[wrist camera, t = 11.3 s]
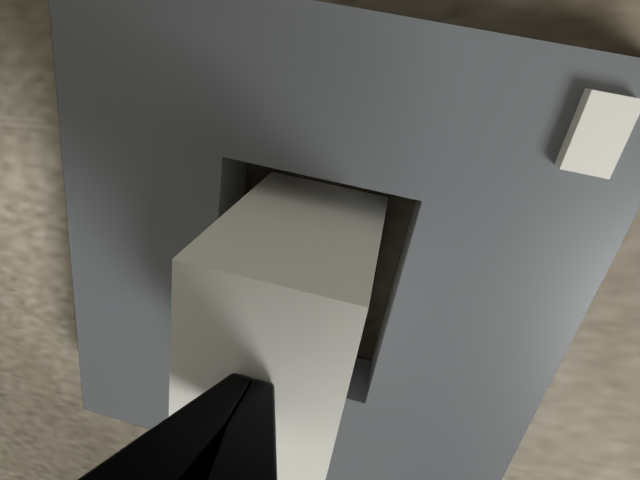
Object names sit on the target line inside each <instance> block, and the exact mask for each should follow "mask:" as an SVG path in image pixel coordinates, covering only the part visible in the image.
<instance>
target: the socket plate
mask: <svg viewBox="0 0 640 480" xmlns="http://www.w3.org/2000/svg"><path fill="white" fill-rule="evenodd" d="M49 8H50V20H51V31H52V43H53V55H54V67H55V79H56V91H57V103H58V115H59V127H60V138H61V150H62V162H63V174H64V186H65V198H66V210H67V222H68V234H69V245H70V257H71V269H72V281H73V293H74V305H75V317H76V329H77V341H78V352H79V364H80V376H81V388H82V400H83V409H85V410H88V411H92V412H95V413H98V414H102V415H105V416H108V417H112V418H115V419H119V420H122V421H125V422H129V423H132V424H135V425H139V426H142V427H145V428H149V429H152V428H153V427H155V426H156V425H157V424H159V423H160V422H162V421H163V420H165V419H166V418H168V417H169V376H170V333H171V290H172V259H173V258H174V257H175V256H176V255H177V254H178V253H180V252H181V251H182V250H183V249H184V248H185V247H186V246H188V245H189V244H190V243H191V242H192V241H193V240H194V239H196V238H197V237H198V236H199V235H200V234H201V233H202V232H204V231H205V230H206V229H207V228H208V227H209V226H210V225H212V224H213V223H214V222H215V221H216V220H217V219H218V218H220V217H221V216H222V215H223V214H224V213H225V212H226V211H228V210H229V209H230V208H231V207H232V206H233V205H234V204H236V203H237V202H238V201H239V200H240V199H241V198H242V197H244V193H245V183H246V173H247V163H252V164H256V165H261V166H265V167H270V168H274V169H279V170H283V171H288V172H292V173H297V174H301V175H306V176H310V177H315V178H319V179H324V180H328V181H333V182H337V183H342V184H346V185H351V186H355V187H360V188H364V189H369V190H373V191H378V192H383V193H387V194H392V195H396V196H401V197H405V198H410V199H414V200H415V203H414V207H413V211H412V214H411V218H410V221H409V225H408V229H407V232H406V236H405V240H404V243H403V247H402V251H401V254H400V258H399V262H398V265H397V269H396V273H395V276H394V280H393V283H392V287H391V291H390V294H389V298H388V302H387V305H386V309H385V313H384V316H383V320H382V324H381V327H380V331H379V335H378V338H377V342H376V345H375V349H374V353H373V356H372V360H371V361H370V360H366V359H362V358H358V357H356V360H355V364H354V368H353V372H352V376H351V380H350V384H349V388H348V392H347V396H346V400H345V404H344V408H343V412H342V416H341V420H340V424H339V428H338V432H337V436H336V440H335V444H334V448H333V452H332V456H331V460H330V464H329V468H328V472H327V476H326V480H501V479H502V477H503V475H504V473H505V471H506V469H507V468H508V466H509V464H510V462H511V460H512V458H513V456H514V454H515V452H516V450H517V448H518V446H519V444H520V442H521V440H522V438H523V436H524V434H525V432H526V430H527V428H528V426H529V424H530V422H531V420H532V418H533V416H534V414H535V412H536V410H537V408H538V406H539V404H540V403H541V401H542V399H543V397H544V395H545V393H546V391H547V389H548V387H549V385H550V383H551V381H552V379H553V377H554V375H555V373H556V371H557V369H558V367H559V365H560V363H561V361H562V359H563V357H564V355H565V353H566V351H567V349H568V347H569V345H570V343H571V341H572V339H573V338H574V336H575V334H576V332H577V330H578V328H579V326H580V324H581V322H582V320H583V318H584V316H585V314H586V312H587V310H588V308H589V306H590V304H591V302H592V300H593V298H594V296H595V294H596V292H597V290H598V288H599V286H600V284H601V282H602V280H603V278H604V276H605V274H606V273H607V271H608V269H609V267H610V265H611V263H612V261H613V259H614V257H615V255H616V253H617V251H618V249H619V247H620V245H621V243H622V241H623V239H624V237H625V235H626V233H627V231H628V229H629V227H630V225H631V223H632V221H633V219H634V217H635V215H636V213H637V211H638V209H639V208H640V58H639V57H633V56H627V55H622V54H616V53H610V52H605V51H599V50H593V49H588V48H582V47H576V46H571V45H565V44H559V43H554V42H548V41H542V40H537V39H531V38H526V37H520V36H514V35H509V34H503V33H497V32H492V31H486V30H480V29H475V28H469V27H463V26H458V25H452V24H446V23H441V22H435V21H429V20H424V19H418V18H413V17H407V16H401V15H396V14H390V13H384V12H379V11H373V10H367V9H362V8H356V7H350V6H345V5H339V4H333V3H328V2H322V1H316V0H49Z"/></svg>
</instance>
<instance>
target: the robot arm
mask: <svg viewBox="0 0 640 480" xmlns="http://www.w3.org/2000/svg"><path fill="white" fill-rule="evenodd" d="M78 480H277V453H276V420H275V388H274V384H273V383H271V382H267V381H264V380H260V379H254V380H253V379H252V378H251V377H249V376H246V375H242V374H239V373H232V374H230V375H228V376H227V377H225V378H224V379H223V380H221V381H220V382H218V383H217V384H215V385H214V386H212V387H211V388H210V389H208V390H207V391H205V392H204V393H202V394H201V395H199V396H198V397H197V398H195V399H194V400H192V401H191V402H189V403H188V404H186V405H185V406H183V407H182V408H181V409H179V410H178V411H176V412H175V413H173V414H172V415H170V416H169V417H168V418H166V419H165V420H163V421H162V422H160V423H159V424H157V425H156V426H155V427H153V428H152V429H150V430H149V431H147V432H146V433H144V434H143V435H141V436H140V437H139V438H137V439H136V440H134V441H133V442H131V443H130V444H128V445H127V446H126V447H124V448H123V449H121V450H120V451H118V452H117V453H115V454H114V455H113V456H111V457H110V458H108V459H107V460H105V461H104V462H102V463H101V464H99V465H98V466H97V467H95V468H94V469H92V470H91V471H89V472H88V473H86V474H85V475H84V476H82V477H81V478H79V479H78Z"/></svg>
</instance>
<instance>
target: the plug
mask: <svg viewBox="0 0 640 480" xmlns="http://www.w3.org/2000/svg"><path fill="white" fill-rule="evenodd" d="M387 203H388V197H384V196H380V195H375V194H371V193H366V192H362V191H357V190H353V189H348V188H344V187H339V186H334V185H330V184H325V183H321V182H316V181H312V180H307V179H303V178H298V177H294V176H289V175H284V174H280V173H275V172H271V173H270V174H269V175H268V176H266V177H265V178H264V179H263V180H262V181H261V182H260V183H258V184H257V185H256V186H255V187H254V188H253V189H252V190H250V191H249V192H248V193H247V194H246V195H245V196H244V197H242V198H241V199H240V200H239V201H238V202H237V203H236V204H234V205H233V206H232V207H231V208H230V209H229V210H228V211H226V212H225V213H224V214H223V215H222V216H221V217H220V218H218V219H217V220H216V221H215V222H214V223H213V224H212V225H210V226H209V227H208V228H207V229H206V230H205V231H204V232H202V233H201V234H200V235H199V236H198V237H197V238H196V239H194V240H193V241H192V242H191V243H190V244H189V245H188V246H186V247H185V248H184V249H183V250H182V251H181V252H180V253H178V254H177V255H176V256H175V257H174V258H173V259H172V290H171V333H170V376H169V416H170V415H172V414H173V413H175V412H176V411H178V410H179V409H181V408H182V407H183V406H185V405H186V404H188V403H189V402H191V401H192V400H194V399H195V398H197V397H198V396H199V395H201V394H202V393H204V392H205V391H207V390H208V389H210V388H211V387H212V386H214V385H215V384H217V383H218V382H220V381H221V380H223V379H224V378H225V377H227V376H228V375H230V374H232V373H239V374H242V375H246V376H249V377H251V378H252V379H253V380H254V379H260V380H264V381H267V382H271V383H273V384H274V388H275V420H276V453H277V480H326V476H327V472H328V468H329V464H330V460H331V456H332V452H333V448H334V444H335V440H336V436H337V432H338V428H339V424H340V420H341V416H342V412H343V408H344V404H345V400H346V396H347V392H348V388H349V384H350V380H351V376H352V372H353V368H354V364H355V360H356V356H357V352H358V349H359V345H360V341H361V337H362V333H363V329H364V325H365V321H366V317H367V313H368V309H369V303H370V298H371V292H372V287H373V281H374V275H375V270H376V264H377V259H378V253H379V248H380V242H381V236H382V231H383V225H384V220H385V214H386V208H387Z"/></svg>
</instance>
